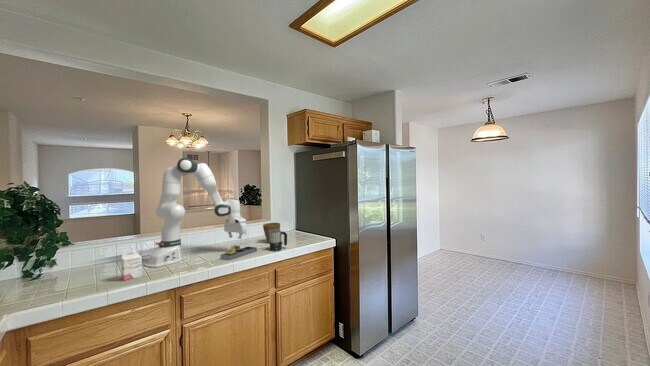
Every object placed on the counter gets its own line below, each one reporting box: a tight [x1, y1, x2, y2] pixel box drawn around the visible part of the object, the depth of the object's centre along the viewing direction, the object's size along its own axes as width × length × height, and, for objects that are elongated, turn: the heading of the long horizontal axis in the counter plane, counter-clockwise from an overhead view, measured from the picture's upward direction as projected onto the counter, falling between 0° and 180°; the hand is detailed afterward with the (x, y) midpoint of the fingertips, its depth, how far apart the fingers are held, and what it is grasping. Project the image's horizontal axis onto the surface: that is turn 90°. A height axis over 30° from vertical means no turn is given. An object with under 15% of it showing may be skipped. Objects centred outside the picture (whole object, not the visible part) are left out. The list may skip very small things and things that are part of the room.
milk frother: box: [269, 229, 288, 252], centre depth 207 cm, size 14×16×15 cm
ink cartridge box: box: [120, 249, 143, 281], centre depth 149 cm, size 9×5×15 cm, turn 141°
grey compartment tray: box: [220, 245, 258, 261], centre depth 189 cm, size 25×9×4 cm, turn 151°
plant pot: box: [262, 222, 281, 244], centre depth 228 cm, size 15×15×16 cm
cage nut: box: [230, 244, 241, 250], centre depth 199 cm, size 5×5×5 cm
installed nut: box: [224, 249, 236, 255], centre depth 182 cm, size 5×5×5 cm
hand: (235, 238), depth 199 cm, fingers open, 8 cm apart
